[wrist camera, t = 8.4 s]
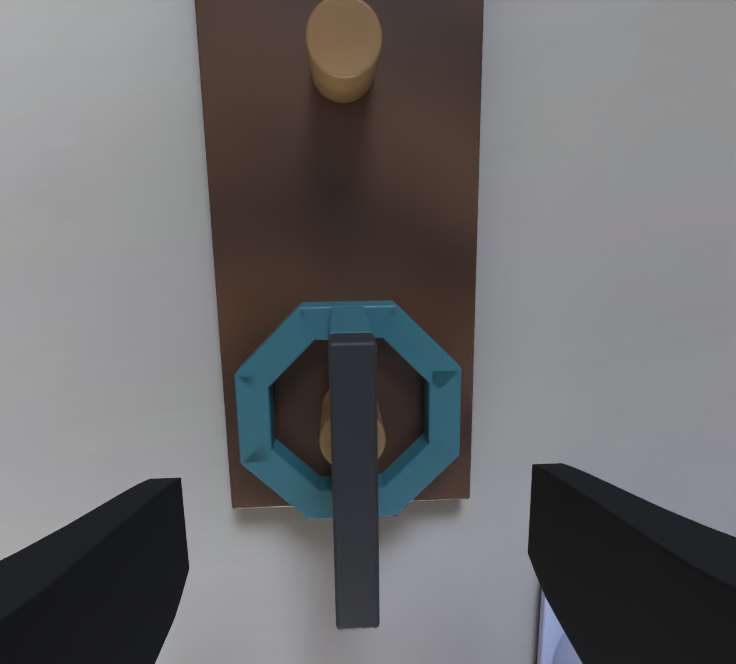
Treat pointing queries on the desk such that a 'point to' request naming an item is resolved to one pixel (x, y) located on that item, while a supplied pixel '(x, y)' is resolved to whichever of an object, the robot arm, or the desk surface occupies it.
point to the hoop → (350, 434)
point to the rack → (343, 200)
